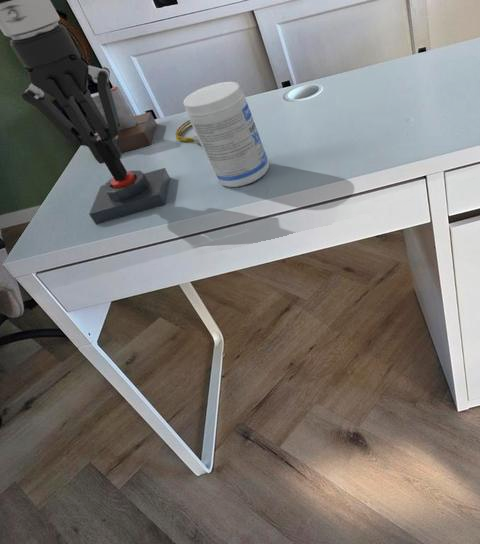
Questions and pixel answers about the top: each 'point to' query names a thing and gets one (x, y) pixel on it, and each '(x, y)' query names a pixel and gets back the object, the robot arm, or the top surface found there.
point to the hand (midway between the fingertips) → (121, 176)
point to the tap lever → (117, 108)
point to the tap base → (136, 133)
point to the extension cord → (194, 139)
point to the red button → (123, 181)
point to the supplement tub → (227, 133)
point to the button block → (131, 196)
